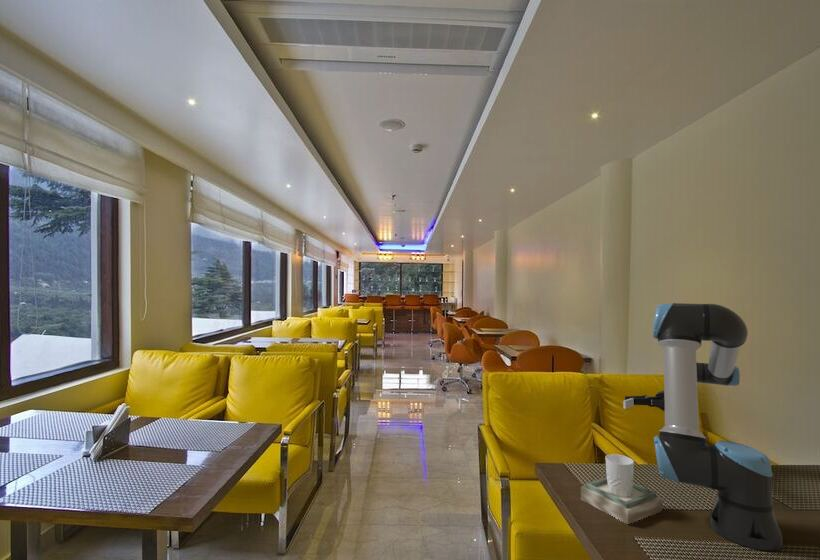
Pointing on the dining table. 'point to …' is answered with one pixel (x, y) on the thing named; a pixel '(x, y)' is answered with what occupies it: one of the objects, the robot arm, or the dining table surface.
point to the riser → (622, 501)
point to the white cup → (619, 474)
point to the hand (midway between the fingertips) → (644, 409)
